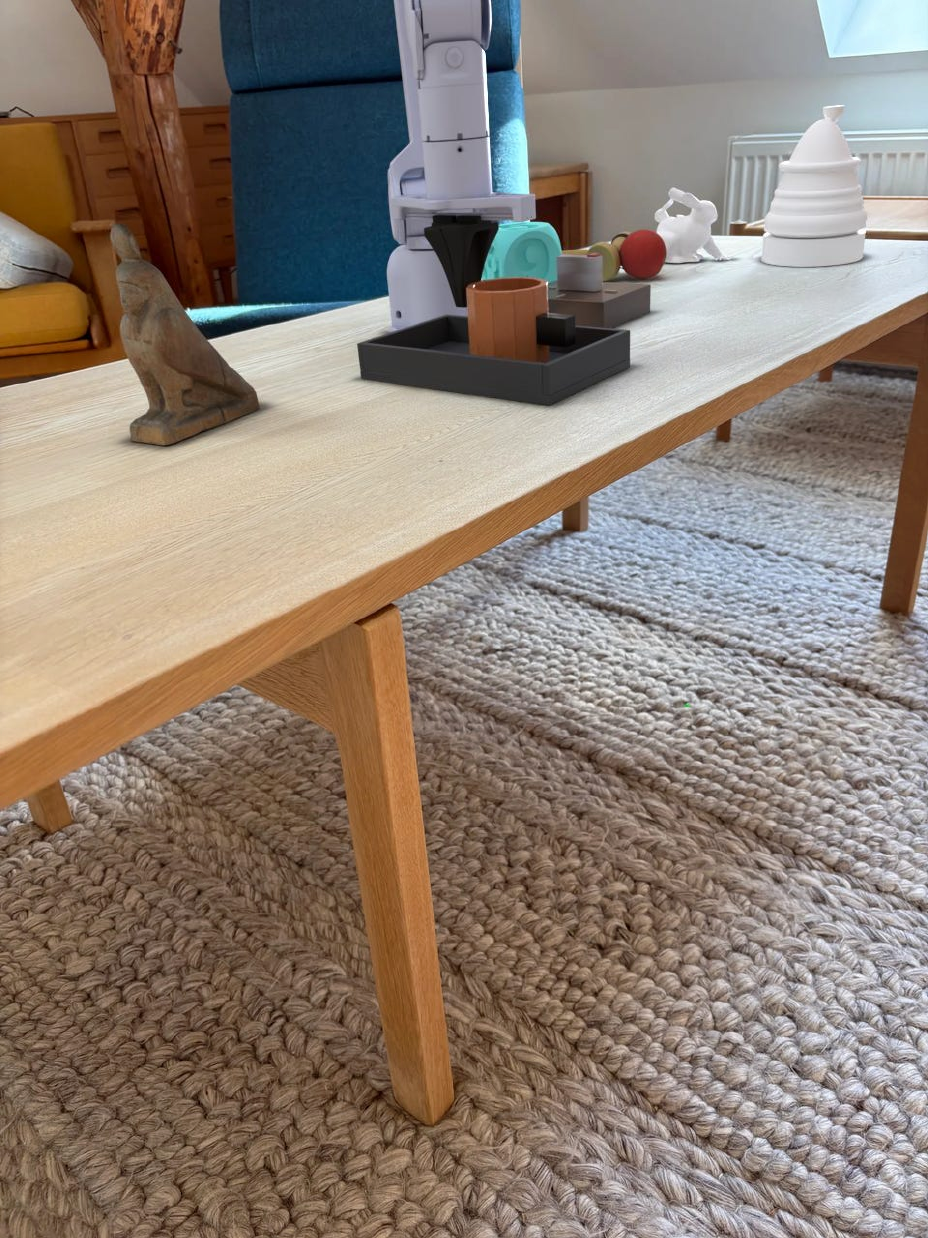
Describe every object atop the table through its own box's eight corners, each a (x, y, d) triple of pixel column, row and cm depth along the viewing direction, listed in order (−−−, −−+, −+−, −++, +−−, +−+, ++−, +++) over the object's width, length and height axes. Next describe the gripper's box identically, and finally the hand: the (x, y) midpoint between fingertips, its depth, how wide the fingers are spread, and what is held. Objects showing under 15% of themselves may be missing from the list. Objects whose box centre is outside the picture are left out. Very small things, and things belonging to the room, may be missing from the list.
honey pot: (797, 248, 139) (809, 105, 130) (882, 254, 130) (900, 101, 121) (741, 262, 132) (750, 112, 124) (827, 269, 123) (842, 108, 115)
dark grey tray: (360, 378, 92) (356, 343, 90) (448, 346, 101) (446, 314, 99) (549, 405, 80) (548, 364, 78) (630, 366, 89) (630, 329, 87)
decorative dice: (537, 285, 128) (534, 219, 124) (563, 293, 122) (562, 225, 118) (480, 293, 126) (476, 226, 122) (504, 302, 119) (500, 232, 116)
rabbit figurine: (734, 258, 135) (738, 182, 130) (707, 268, 130) (711, 189, 125) (657, 255, 142) (659, 183, 138) (630, 264, 137) (630, 189, 133)
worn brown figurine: (176, 475, 79) (82, 252, 68) (132, 465, 82) (35, 249, 70) (273, 405, 86) (202, 192, 74) (229, 398, 88) (155, 192, 77)
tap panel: (510, 323, 109) (508, 294, 107) (559, 305, 115) (558, 277, 114) (603, 331, 102) (603, 300, 100) (650, 312, 108) (651, 282, 107)
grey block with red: (557, 289, 108) (556, 253, 106) (564, 287, 109) (563, 251, 107) (596, 291, 105) (595, 255, 103) (602, 289, 106) (602, 253, 104)
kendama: (531, 289, 133) (646, 275, 121) (529, 239, 131) (646, 221, 120) (564, 289, 138) (678, 277, 127) (562, 241, 137) (677, 224, 125)
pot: (456, 369, 88) (450, 289, 85) (501, 351, 93) (498, 275, 90) (548, 382, 83) (546, 296, 79) (592, 362, 87) (592, 281, 84)
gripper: (360, 145, 84) (378, 308, 90) (496, 139, 76) (505, 319, 82) (414, 139, 89) (427, 294, 95) (547, 132, 80) (552, 303, 87)
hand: (466, 305), depth 89 cm, fingers closed
